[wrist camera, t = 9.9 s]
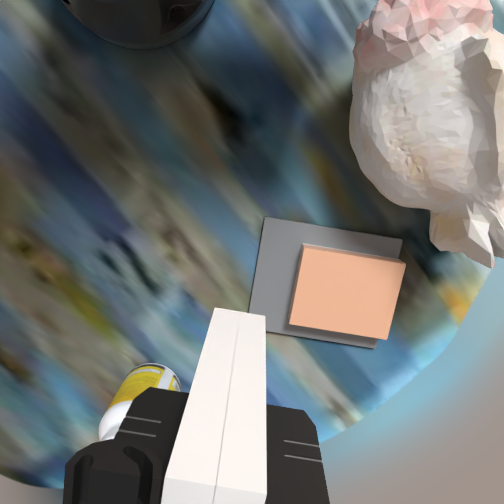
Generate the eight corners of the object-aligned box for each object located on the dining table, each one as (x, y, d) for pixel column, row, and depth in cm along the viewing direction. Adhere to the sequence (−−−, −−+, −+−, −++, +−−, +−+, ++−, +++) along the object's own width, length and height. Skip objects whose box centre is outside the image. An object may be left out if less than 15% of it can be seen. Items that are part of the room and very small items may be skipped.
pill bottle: (114, 376, 48) (68, 446, 37) (163, 350, 47) (131, 414, 36) (145, 421, 49) (110, 502, 38) (194, 397, 48) (172, 472, 37)
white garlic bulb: (520, 52, 39) (673, -7, 25) (444, 247, 44) (535, 295, 29) (353, 1, 39) (408, -90, 24) (291, 203, 43) (307, 231, 28)
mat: (246, 325, 46) (246, 327, 46) (265, 216, 43) (265, 217, 43) (374, 346, 46) (375, 348, 46) (401, 238, 43) (402, 239, 43)
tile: (289, 324, 43) (386, 339, 43) (304, 247, 41) (406, 264, 41) (288, 316, 45) (381, 331, 45) (302, 243, 43) (399, 259, 43)
